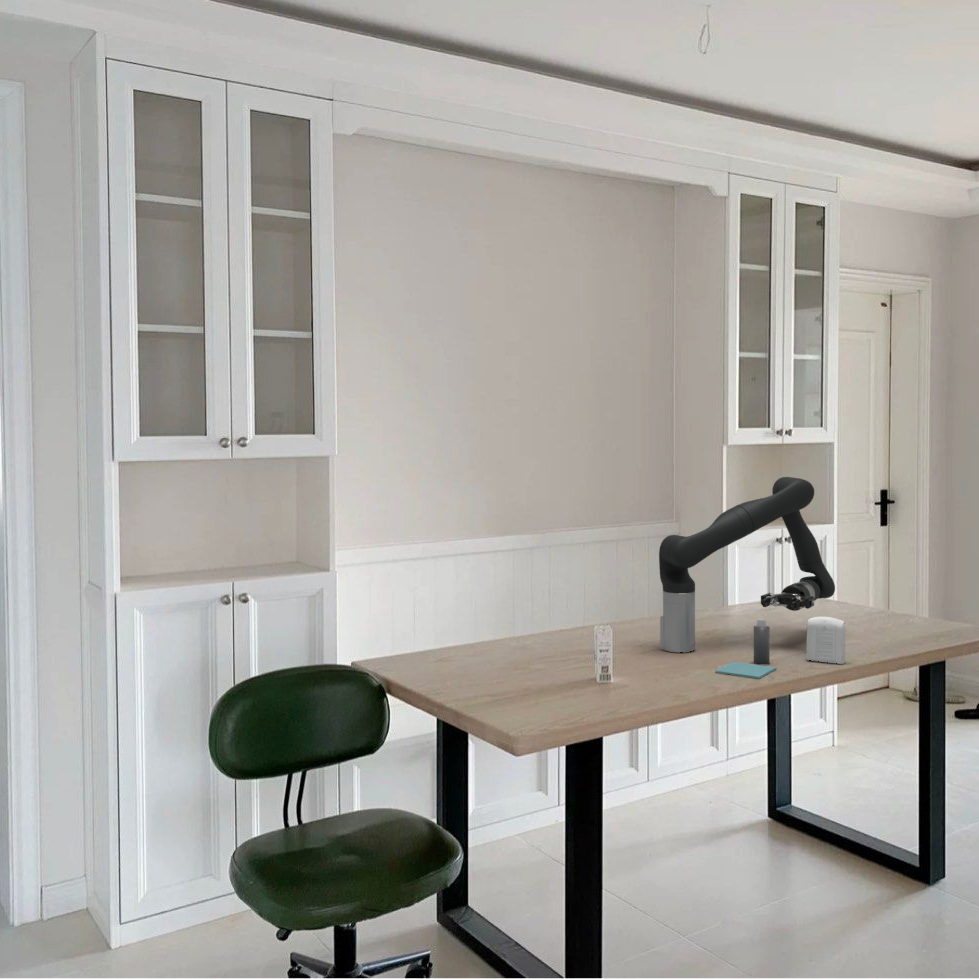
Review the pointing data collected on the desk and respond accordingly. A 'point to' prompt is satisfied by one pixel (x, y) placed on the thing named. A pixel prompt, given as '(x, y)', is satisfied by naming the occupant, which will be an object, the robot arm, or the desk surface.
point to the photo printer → (826, 640)
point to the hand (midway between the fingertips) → (778, 604)
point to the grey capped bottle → (761, 642)
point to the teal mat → (746, 670)
